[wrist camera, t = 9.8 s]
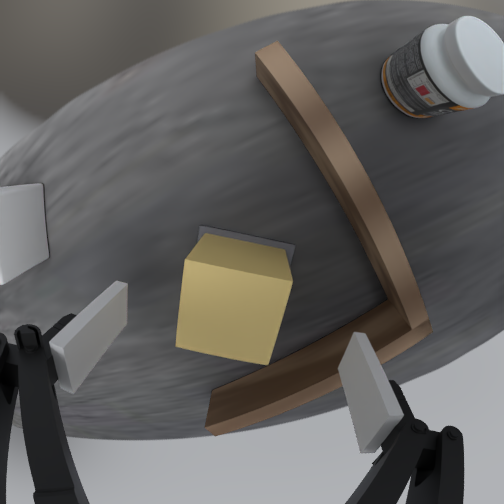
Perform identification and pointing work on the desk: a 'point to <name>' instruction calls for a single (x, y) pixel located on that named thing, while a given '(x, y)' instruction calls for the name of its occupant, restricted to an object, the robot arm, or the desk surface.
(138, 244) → the desk surface
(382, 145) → the desk surface
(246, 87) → the desk surface
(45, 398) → the robot arm
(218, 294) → the cube
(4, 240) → the medicine bottle
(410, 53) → the pill bottle
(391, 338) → the angled wooden barrier
